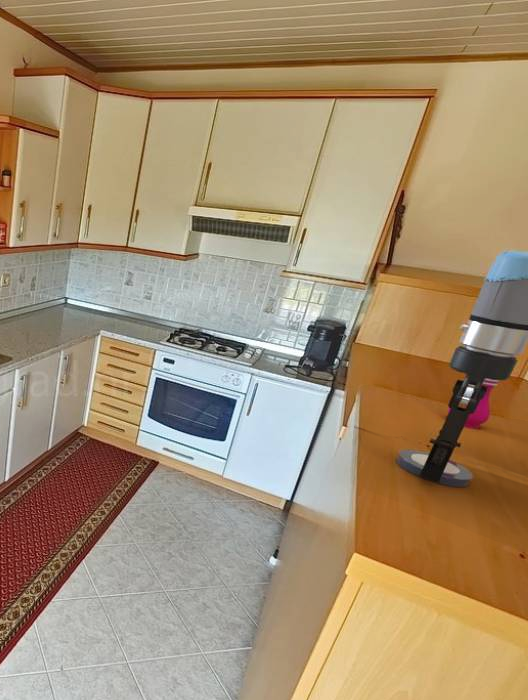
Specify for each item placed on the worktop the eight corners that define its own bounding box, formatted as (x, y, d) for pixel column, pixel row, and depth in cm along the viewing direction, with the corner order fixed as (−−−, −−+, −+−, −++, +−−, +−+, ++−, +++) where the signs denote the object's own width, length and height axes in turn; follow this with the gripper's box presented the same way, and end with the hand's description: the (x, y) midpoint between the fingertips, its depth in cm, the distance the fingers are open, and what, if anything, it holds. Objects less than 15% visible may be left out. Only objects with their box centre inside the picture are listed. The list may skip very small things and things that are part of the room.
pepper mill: (474, 439, 110) (514, 354, 103) (435, 425, 116) (471, 345, 109) (484, 434, 114) (524, 352, 107) (447, 421, 120) (482, 343, 113)
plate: (471, 475, 92) (475, 467, 91) (466, 494, 84) (470, 485, 84) (401, 451, 99) (404, 444, 98) (390, 467, 91) (394, 459, 91)
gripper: (460, 340, 85) (409, 459, 93) (453, 349, 76) (397, 479, 84) (519, 351, 80) (459, 476, 88) (519, 363, 71) (452, 500, 79)
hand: (429, 477), depth 86 cm, fingers closed
